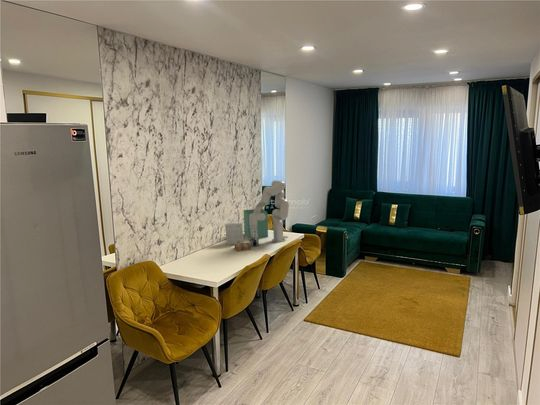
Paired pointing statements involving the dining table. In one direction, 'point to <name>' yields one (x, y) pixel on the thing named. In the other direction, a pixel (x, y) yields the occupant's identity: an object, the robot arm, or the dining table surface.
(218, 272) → the dining table surface
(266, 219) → the box
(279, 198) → the robot arm
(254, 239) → the block
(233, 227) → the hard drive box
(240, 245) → the tray
